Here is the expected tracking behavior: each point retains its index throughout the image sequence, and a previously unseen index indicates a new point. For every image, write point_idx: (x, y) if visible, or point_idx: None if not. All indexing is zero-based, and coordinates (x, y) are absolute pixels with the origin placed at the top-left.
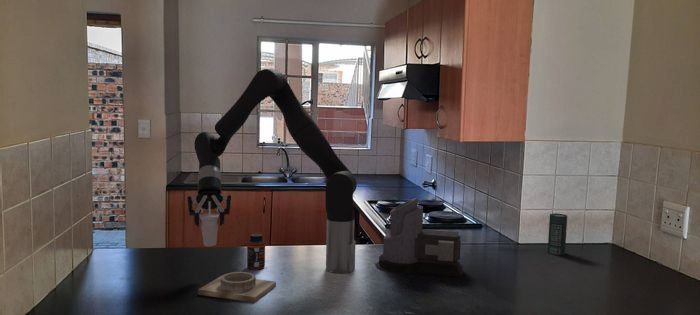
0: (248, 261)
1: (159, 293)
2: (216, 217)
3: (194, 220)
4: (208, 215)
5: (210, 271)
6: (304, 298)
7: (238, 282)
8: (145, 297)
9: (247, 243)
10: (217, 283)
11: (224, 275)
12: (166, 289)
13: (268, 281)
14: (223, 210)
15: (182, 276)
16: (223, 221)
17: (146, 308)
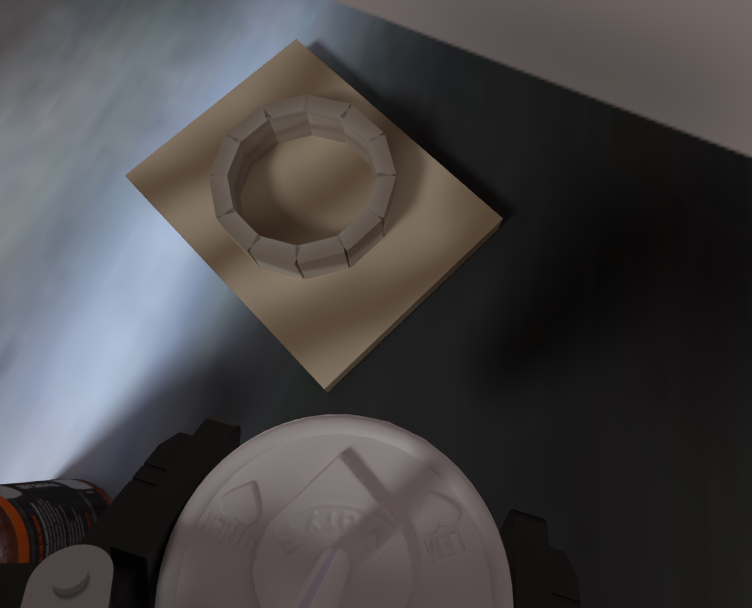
0: None
1: (673, 321)
2: (260, 441)
3: (577, 588)
4: (366, 528)
5: None
6: (110, 23)
7: (329, 101)
8: (741, 293)
9: None
10: (392, 264)
11: (358, 228)
12: (636, 366)
13: (155, 191)
14: (48, 572)
15: None
16: (180, 432)
17: (733, 160)
